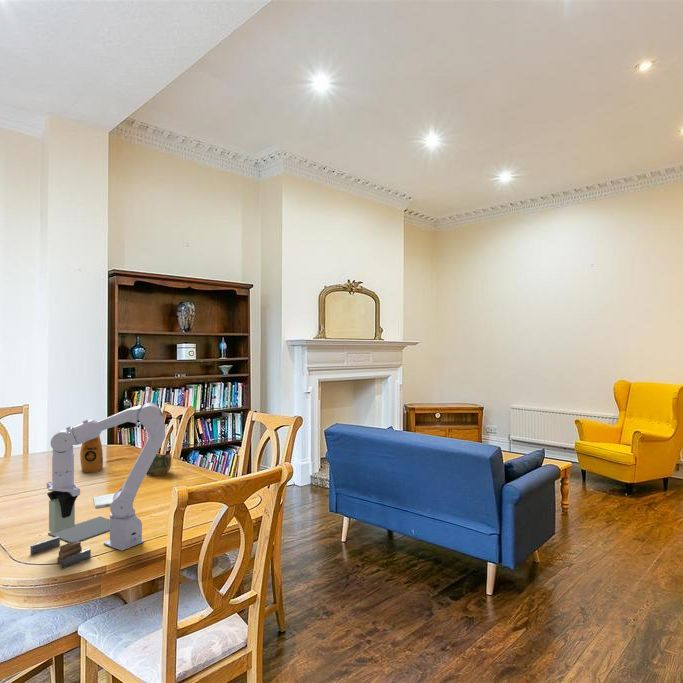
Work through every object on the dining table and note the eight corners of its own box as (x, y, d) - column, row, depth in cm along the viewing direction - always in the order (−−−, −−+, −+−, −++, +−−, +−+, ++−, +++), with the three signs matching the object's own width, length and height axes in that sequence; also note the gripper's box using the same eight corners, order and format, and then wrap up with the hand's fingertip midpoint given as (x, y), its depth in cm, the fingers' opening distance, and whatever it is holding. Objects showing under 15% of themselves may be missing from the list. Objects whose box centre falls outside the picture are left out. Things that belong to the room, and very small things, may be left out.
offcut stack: (82, 557, 143) (82, 541, 143) (62, 565, 138) (62, 548, 138) (78, 555, 144) (78, 539, 144) (57, 563, 139) (57, 546, 139)
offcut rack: (90, 557, 143) (90, 549, 143) (62, 568, 136) (62, 559, 136) (58, 544, 152) (58, 536, 152) (30, 553, 145) (30, 545, 145)
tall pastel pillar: (74, 526, 149) (74, 496, 149) (54, 533, 144) (54, 502, 144) (69, 524, 151) (69, 495, 151) (48, 530, 146) (48, 500, 146)
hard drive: (93, 496, 195) (95, 505, 184) (115, 493, 199) (119, 501, 188) (93, 500, 195) (95, 509, 184) (115, 497, 199) (119, 506, 188)
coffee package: (78, 474, 230) (78, 427, 230) (81, 467, 242) (81, 422, 242) (101, 471, 234) (102, 425, 234) (103, 465, 245) (103, 421, 245)
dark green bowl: (142, 480, 221) (142, 457, 221) (139, 469, 239) (140, 449, 239) (172, 477, 226) (172, 455, 226) (167, 467, 244) (168, 447, 244)
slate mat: (124, 525, 168) (124, 524, 168) (72, 544, 152) (72, 542, 152) (100, 517, 175) (100, 516, 175) (48, 534, 160) (48, 533, 160)
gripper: (36, 470, 148) (36, 515, 148) (63, 477, 141) (63, 524, 141) (59, 465, 154) (59, 508, 154) (87, 471, 147) (86, 517, 147)
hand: (63, 515), depth 148 cm, fingers closed on tall pastel pillar, 3 cm apart
